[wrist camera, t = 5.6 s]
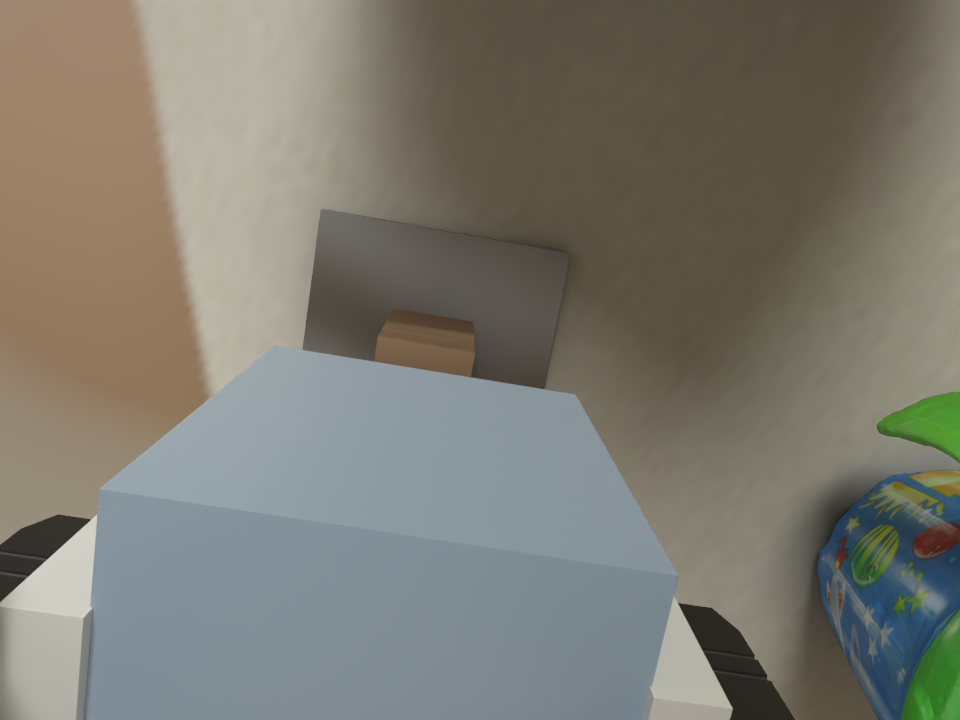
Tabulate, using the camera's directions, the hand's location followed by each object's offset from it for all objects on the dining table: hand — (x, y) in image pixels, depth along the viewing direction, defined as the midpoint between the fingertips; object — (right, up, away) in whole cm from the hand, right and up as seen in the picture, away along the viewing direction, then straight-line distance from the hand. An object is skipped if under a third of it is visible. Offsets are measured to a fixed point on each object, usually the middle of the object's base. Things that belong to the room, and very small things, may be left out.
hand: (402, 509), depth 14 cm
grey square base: (0, +3, +13) cm, 13 cm away
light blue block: (0, 0, 0) cm, 0 cm away
